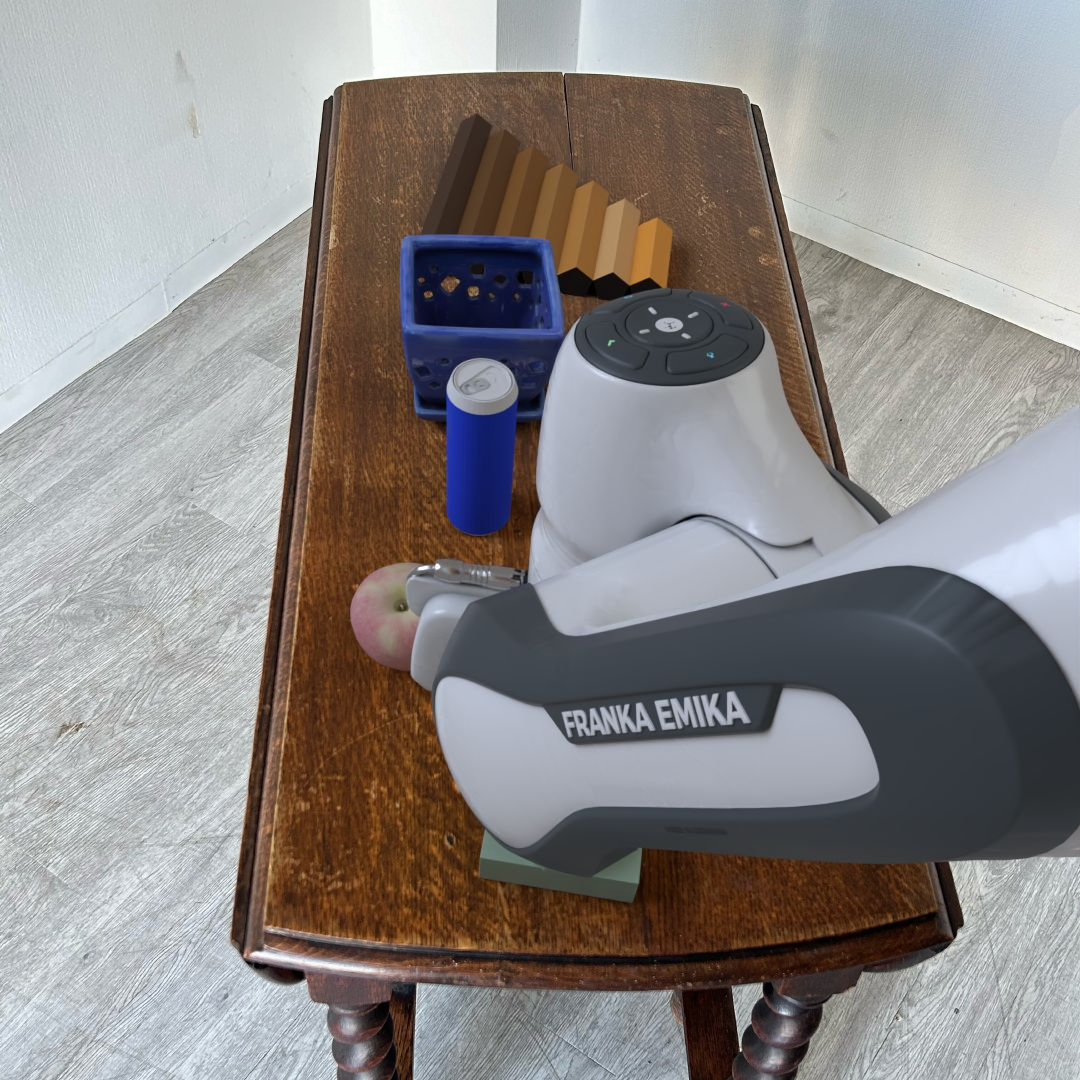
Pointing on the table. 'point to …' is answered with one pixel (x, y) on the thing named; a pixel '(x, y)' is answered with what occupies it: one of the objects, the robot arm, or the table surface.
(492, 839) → the control block
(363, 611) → the apple
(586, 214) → the pan flute
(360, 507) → the table surface
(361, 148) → the table surface
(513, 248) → the flower pot
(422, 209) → the table surface
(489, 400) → the beverage can
